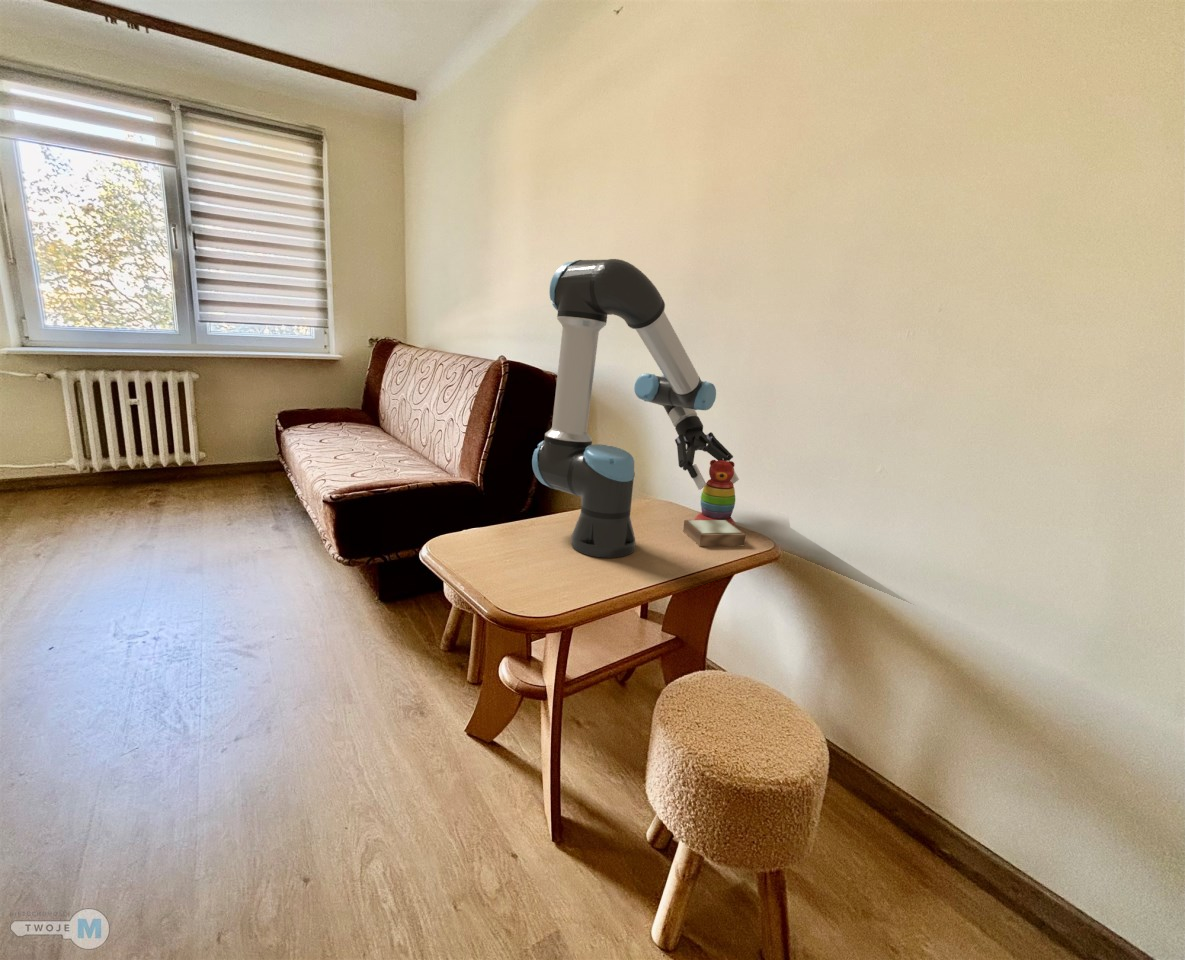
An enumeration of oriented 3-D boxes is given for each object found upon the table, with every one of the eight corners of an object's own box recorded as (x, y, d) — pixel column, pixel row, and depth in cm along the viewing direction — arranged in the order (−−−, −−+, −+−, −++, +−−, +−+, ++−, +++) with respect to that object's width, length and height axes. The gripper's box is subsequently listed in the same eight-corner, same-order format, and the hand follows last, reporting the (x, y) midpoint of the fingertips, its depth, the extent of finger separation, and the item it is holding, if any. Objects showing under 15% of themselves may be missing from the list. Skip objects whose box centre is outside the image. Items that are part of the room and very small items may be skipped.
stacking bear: (693, 524, 150) (700, 461, 145) (697, 514, 159) (704, 454, 155) (733, 531, 147) (742, 466, 142) (735, 520, 156) (744, 459, 152)
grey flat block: (699, 546, 134) (701, 534, 133) (683, 530, 144) (684, 519, 144) (744, 545, 137) (746, 533, 136) (725, 530, 147) (726, 519, 146)
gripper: (707, 427, 169) (739, 486, 162) (647, 431, 155) (679, 496, 147) (722, 413, 164) (756, 473, 156) (662, 415, 149) (696, 482, 142)
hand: (719, 484), depth 152 cm, fingers open, 13 cm apart
